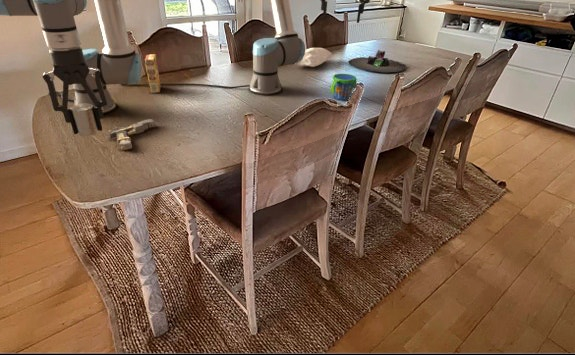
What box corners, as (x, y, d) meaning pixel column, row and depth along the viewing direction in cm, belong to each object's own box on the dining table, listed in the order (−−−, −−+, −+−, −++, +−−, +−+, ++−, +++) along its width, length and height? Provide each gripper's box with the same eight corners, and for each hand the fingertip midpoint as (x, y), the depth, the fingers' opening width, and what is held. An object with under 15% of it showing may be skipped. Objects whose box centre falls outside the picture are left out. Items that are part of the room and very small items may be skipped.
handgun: (169, 128, 131) (147, 116, 139) (122, 144, 120) (101, 130, 128) (170, 135, 133) (148, 122, 141) (123, 152, 121) (102, 137, 129)
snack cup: (347, 91, 179) (350, 71, 174) (362, 98, 172) (365, 77, 167) (322, 97, 172) (324, 75, 166) (336, 104, 165) (339, 82, 159)
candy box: (159, 92, 169) (154, 59, 161) (150, 93, 168) (144, 59, 160) (161, 86, 176) (156, 54, 168) (151, 86, 175) (146, 54, 167)
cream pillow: (271, 61, 216) (273, 46, 210) (312, 52, 236) (315, 38, 230) (297, 77, 204) (300, 61, 198) (339, 66, 224) (342, 52, 218)
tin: (73, 136, 103) (66, 110, 98) (83, 127, 107) (76, 103, 103) (94, 136, 103) (87, 111, 99) (102, 127, 108) (96, 103, 104)
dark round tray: (418, 67, 219) (420, 52, 215) (377, 75, 202) (379, 59, 197) (375, 58, 244) (377, 43, 239) (336, 64, 226) (337, 49, 222)
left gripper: (19, 53, 86) (50, 141, 99) (105, 48, 93) (124, 130, 106) (23, 46, 92) (52, 130, 104) (104, 42, 99) (122, 121, 111)
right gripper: (312, -43, 133) (308, 19, 145) (381, -40, 128) (371, 25, 139) (316, -43, 139) (312, 16, 151) (382, -40, 134) (373, 22, 145)
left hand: (88, 130), depth 105 cm, fingers closed on tin, 6 cm apart
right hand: (340, 21), depth 145 cm, fingers open, 13 cm apart
